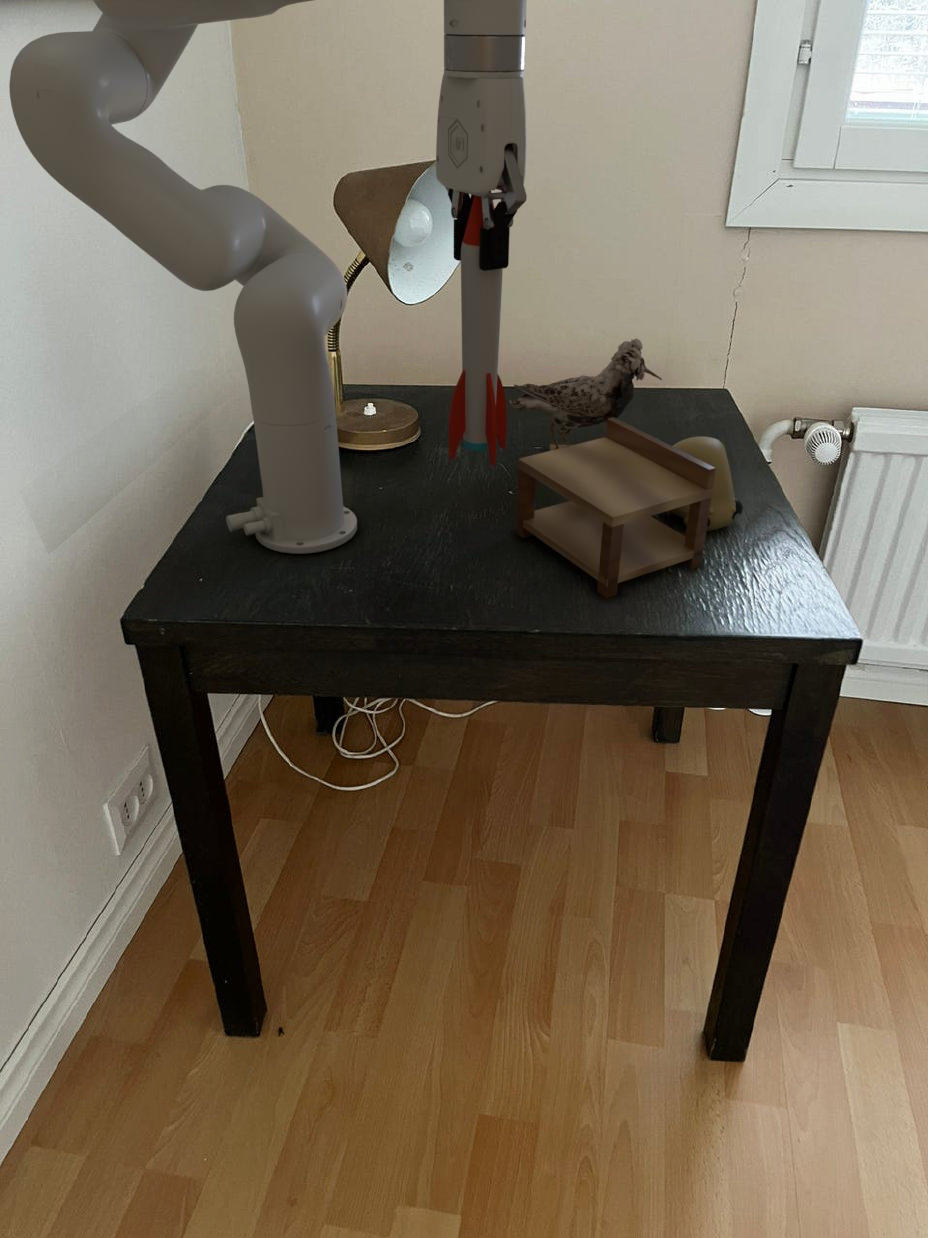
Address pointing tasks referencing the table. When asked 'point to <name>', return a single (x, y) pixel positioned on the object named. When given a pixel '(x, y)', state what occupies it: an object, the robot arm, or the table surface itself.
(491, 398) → the toy rocket
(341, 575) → the table surface
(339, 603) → the table surface
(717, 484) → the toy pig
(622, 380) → the stuffed bird
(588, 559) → the rack
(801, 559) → the table surface
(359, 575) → the table surface
